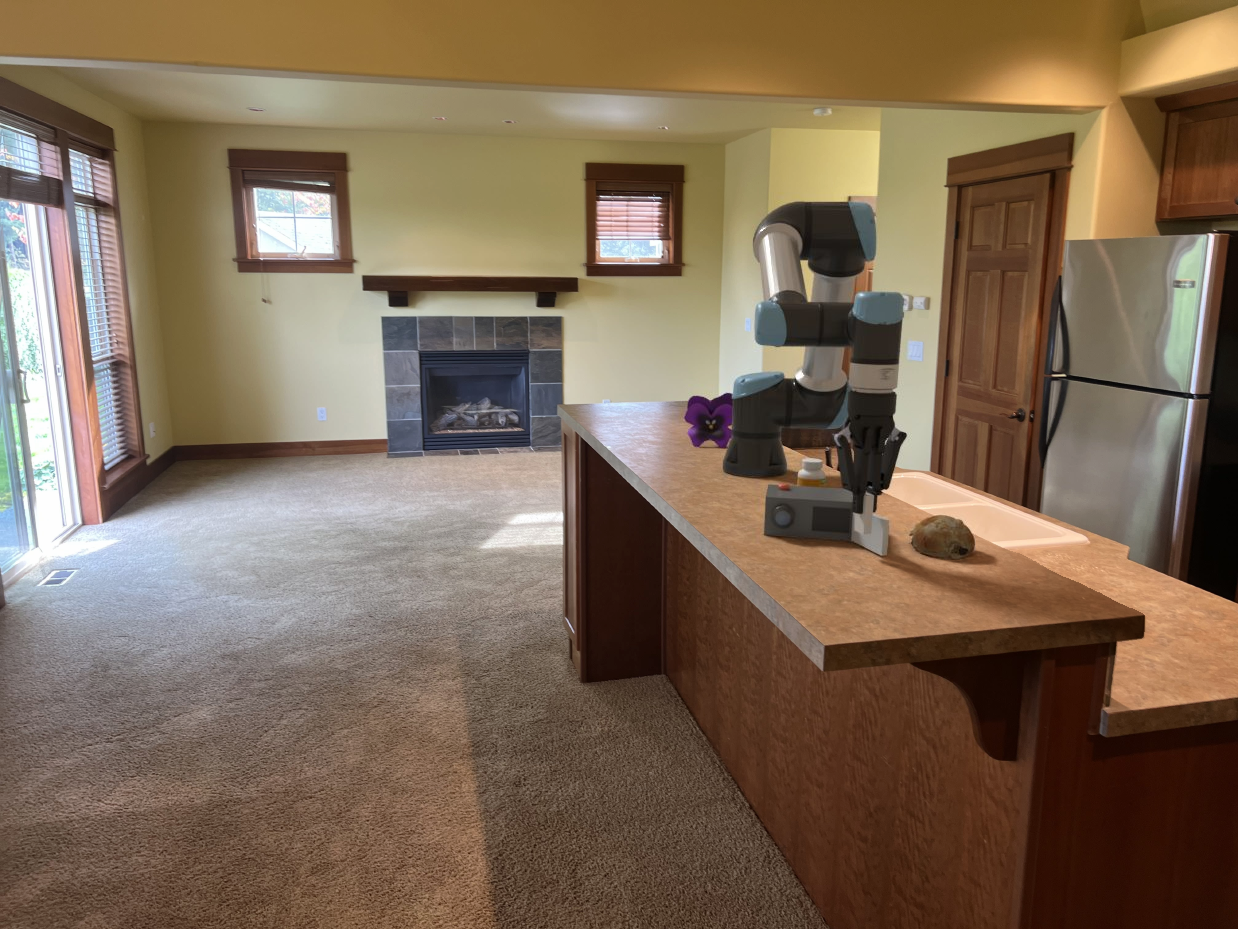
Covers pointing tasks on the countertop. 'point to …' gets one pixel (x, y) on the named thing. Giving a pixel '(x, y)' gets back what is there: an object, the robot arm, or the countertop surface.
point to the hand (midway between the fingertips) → (862, 531)
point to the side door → (873, 535)
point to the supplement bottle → (811, 473)
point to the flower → (710, 419)
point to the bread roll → (943, 537)
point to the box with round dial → (808, 512)
